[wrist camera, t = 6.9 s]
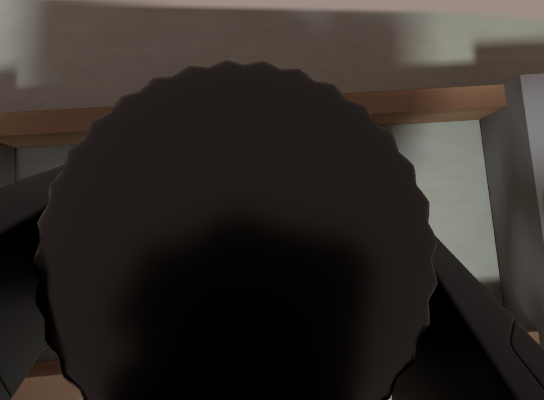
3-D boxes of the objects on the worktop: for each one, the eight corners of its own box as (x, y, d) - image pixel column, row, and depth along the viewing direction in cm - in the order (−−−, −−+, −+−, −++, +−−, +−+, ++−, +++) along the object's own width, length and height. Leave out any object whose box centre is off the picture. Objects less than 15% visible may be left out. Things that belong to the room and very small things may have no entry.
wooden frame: (588, 334, 18) (672, 360, 14) (-75, 394, 16) (-170, 441, 13) (552, 95, 19) (622, 63, 15) (-72, 132, 17) (-159, 106, 14)
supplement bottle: (342, 170, 16) (522, -23, 4) (346, 325, 16) (577, 599, 4) (191, 170, 16) (-30, -19, 5) (187, 325, 16) (-94, 592, 4)
